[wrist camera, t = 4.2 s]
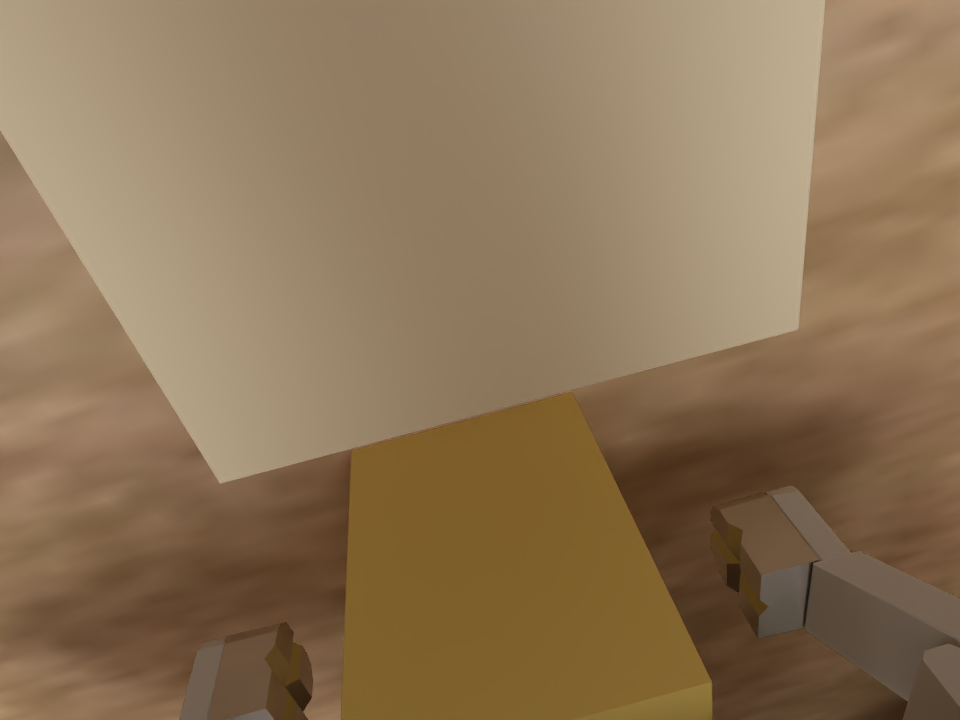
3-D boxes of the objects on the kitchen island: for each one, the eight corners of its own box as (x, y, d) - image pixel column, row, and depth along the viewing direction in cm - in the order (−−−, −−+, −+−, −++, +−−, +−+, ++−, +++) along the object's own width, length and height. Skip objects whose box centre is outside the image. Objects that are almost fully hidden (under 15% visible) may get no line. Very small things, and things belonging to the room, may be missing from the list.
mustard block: (571, 391, 12) (712, 682, 7) (596, 540, 15) (713, 834, 10) (351, 450, 12) (337, 784, 7) (413, 589, 15) (435, 912, 10)
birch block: (528, -241, 7) (884, -716, 2) (577, 144, 10) (799, 329, 5) (156, -144, 7) (-336, -411, 2) (298, 217, 10) (220, 482, 5)
